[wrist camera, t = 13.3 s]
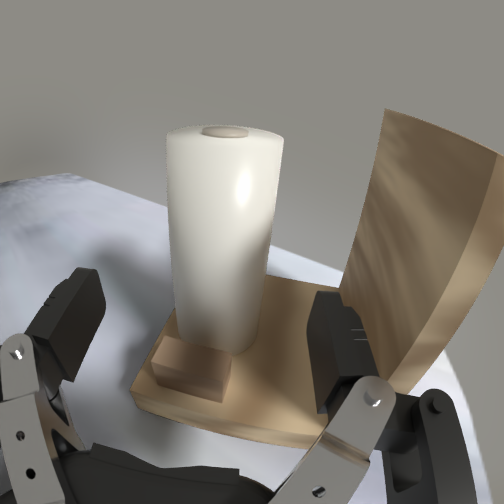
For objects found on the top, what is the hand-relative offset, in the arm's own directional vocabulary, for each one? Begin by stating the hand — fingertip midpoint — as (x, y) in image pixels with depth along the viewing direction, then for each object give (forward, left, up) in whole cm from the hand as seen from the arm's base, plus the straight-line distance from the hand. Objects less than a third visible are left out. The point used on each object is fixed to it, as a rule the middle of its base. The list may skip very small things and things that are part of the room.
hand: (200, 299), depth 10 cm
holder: (+2, +7, -11) cm, 13 cm away
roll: (-1, +6, -8) cm, 11 cm away
